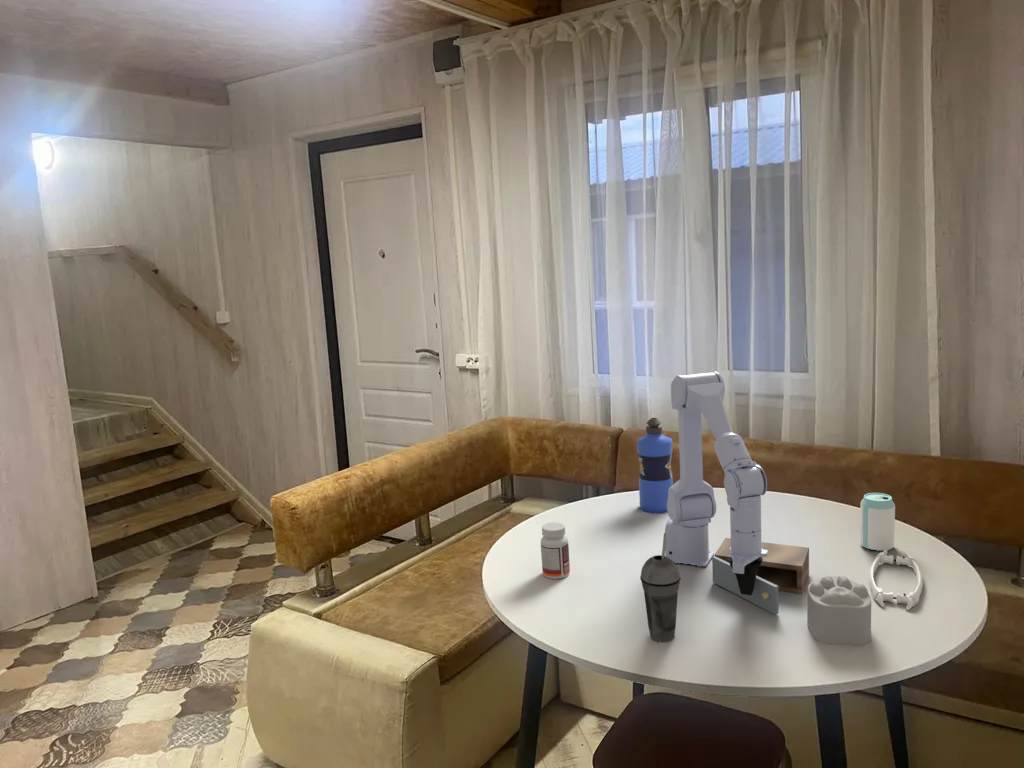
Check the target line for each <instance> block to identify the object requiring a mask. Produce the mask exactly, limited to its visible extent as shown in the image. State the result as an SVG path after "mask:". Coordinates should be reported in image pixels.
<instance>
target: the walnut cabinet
mask: <svg viewBox="0 0 1024 768" xmlns="http://www.w3.org/2000/svg"><path fill="white" fill-rule="evenodd" d="M730 547H731V537H730V538H729V537H724V540H722V543H721V544H720V546H719V547H718V549H717V550H716V552H714V556H716V557H718V558H720V559H722V560H724V561H726V562H728V563H730V560H731V558H732V557H731V554H730ZM761 548H762V549H764V550H768V555H767V556H766V557H762V558H763V561H762V563H761V565H760V566H759V568H758V571H757V575H756V576H758V577H760V578H762V579H765V580H767V581H769V582H771V583H773V584H775V585H777V586H778V592H779V591H780V592H785V593H792V594H799V595H803V593H804V590H805V586H806V584H807V582H806V581H808V579H809V576H810V547H805V546H798V545H791V544H780V543H774V542H773V543H771V542H764V541H763V542H762V541H761ZM808 575H809V576H808ZM807 578H808V579H807Z"/></svg>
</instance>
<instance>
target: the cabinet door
mask: <svg viewBox="0 0 1024 768" xmlns="http://www.w3.org/2000/svg"><path fill="white" fill-rule="evenodd" d="M711 563H712V564H711V567H712V583H714V584H716V585H718V586H719V587H722V588H724V589H726V590H727V591H730V592H731V593H733V594H735V595H737V596H739V597H741V598H742V599H744V600H747V601H749V603H750V602H751V603H753V604H755V605H756V606H759V607H760V608H762V609H764V610H766V611H768V612H770V613H773V614H774V615H778V614H779V607H780V605H779V591H778V586H777V585H775V584H773V583H771V582H769V581H767V580H765V579H762V578H760V577H758V576H756V580H755V585H754V590H753V593H752V595H744V594H741V592H740V589H739V585H738V581H737V578H736V575H735V573H733V569H732V568H731V566H730V563H728V562H726V561H724V560H722V559H720V558H718V557H716V556H715V555H713V556H712V558H711Z"/></svg>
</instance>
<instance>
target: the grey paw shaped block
mask: <svg viewBox="0 0 1024 768" xmlns="http://www.w3.org/2000/svg"><path fill="white" fill-rule="evenodd" d="M806 593H807V598H806V599H807V600H806V601H807V604H806V607H807V610H806V611H807V612H806V613H807V616H806V617H807V619H806V622H807V624H806V625H807V629H808V631H809V633H810V635H811V637H812V638H813V639H814V640H815V641H818V642H819V643H821V644H826V645H827V644H828V645H846V646H847V645H848V646H849V645H850V646H854V647H855V646H856V647H857V646H858V647H859V646H860V647H861V646H866V645H868V644H869V643H870V642H871V639H872V599H871V596H870V594H869V591H868V588H867V587H866V585H864V584H861V583H857V582H855V581H854V580H851V579H849V578H848V577H846V576H845V575H844V576H842V575H841V576H834V575H832V576H831V575H825V576H823V577H819V578H815V579H814V580H812V581H811V582H810V583H809V584H808V586H807V590H806Z"/></svg>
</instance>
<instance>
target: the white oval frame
mask: <svg viewBox="0 0 1024 768" xmlns="http://www.w3.org/2000/svg"><path fill="white" fill-rule="evenodd" d="M888 551H889V550H885V551H883V552H879V553H878V554H877V555H876V556H875V558H874V560H873V563H872V564H871V566H870V569H869V574H868V581H869V586H870V590H871V597H872V598H873V599H874V601H877V602H876V603H878V604H879V605H880V606H881V607H882V608H885V607H886V606H885V605H886V603H884V602H889V603H890V602H891V603H892V604H893V603H894V600H896V604H897V603H899V604H907V605H906V607H905V611H906V610H908V611H909V610H911V609H912V608H913V605H914V607H915V606H917V604H918V603H919V602H920V596H921V594H922V592H923V585H924V583H923V582H924V580H923V579H924V578H923V575H922V572H921V569H920V568H919V565H918V563H917V560H916V559H915V558H914V557H913V556H912V555H911V554H909V553H908V552H907V551H904V555H903V556H902V557H901V556H900V555H896V559H895V558H894V555H893V554H892V555H888ZM894 562H895V563H896V566H902V565H903V566H907V567H908V566H912V567H913V569H914V570H915V573H916V575H917V577H916V579H917V578H918V580H917V586H916V588H915V590H914V591H908V594H907V595H906V593H903V594H902V593H898V592H897V593H896V596H894V592H892V591H891V592H884V591H883V587H878V586H877V584H876V581H875V574H874V572H875V573H876V571H875V569H876V568H877V566H878V565H879V563H884V564H889V565H892V564H893V565H894ZM900 564H902V565H900ZM879 566H880V565H879ZM877 569H878V568H877ZM913 569H912V570H913ZM915 573H914V574H915ZM916 575H915V576H916ZM873 576H874V577H873ZM876 599H877V600H876ZM899 604H898V605H899Z"/></svg>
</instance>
